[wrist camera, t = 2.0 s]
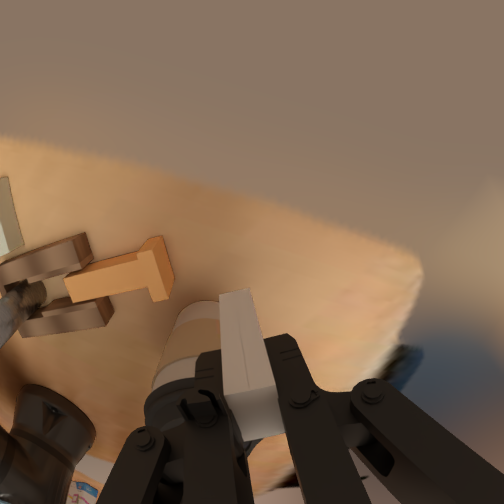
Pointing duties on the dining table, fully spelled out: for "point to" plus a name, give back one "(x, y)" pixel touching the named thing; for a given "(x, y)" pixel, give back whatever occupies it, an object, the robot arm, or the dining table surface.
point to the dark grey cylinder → (19, 307)
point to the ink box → (81, 494)
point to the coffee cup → (184, 364)
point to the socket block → (60, 310)
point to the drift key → (125, 274)
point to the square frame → (8, 220)
